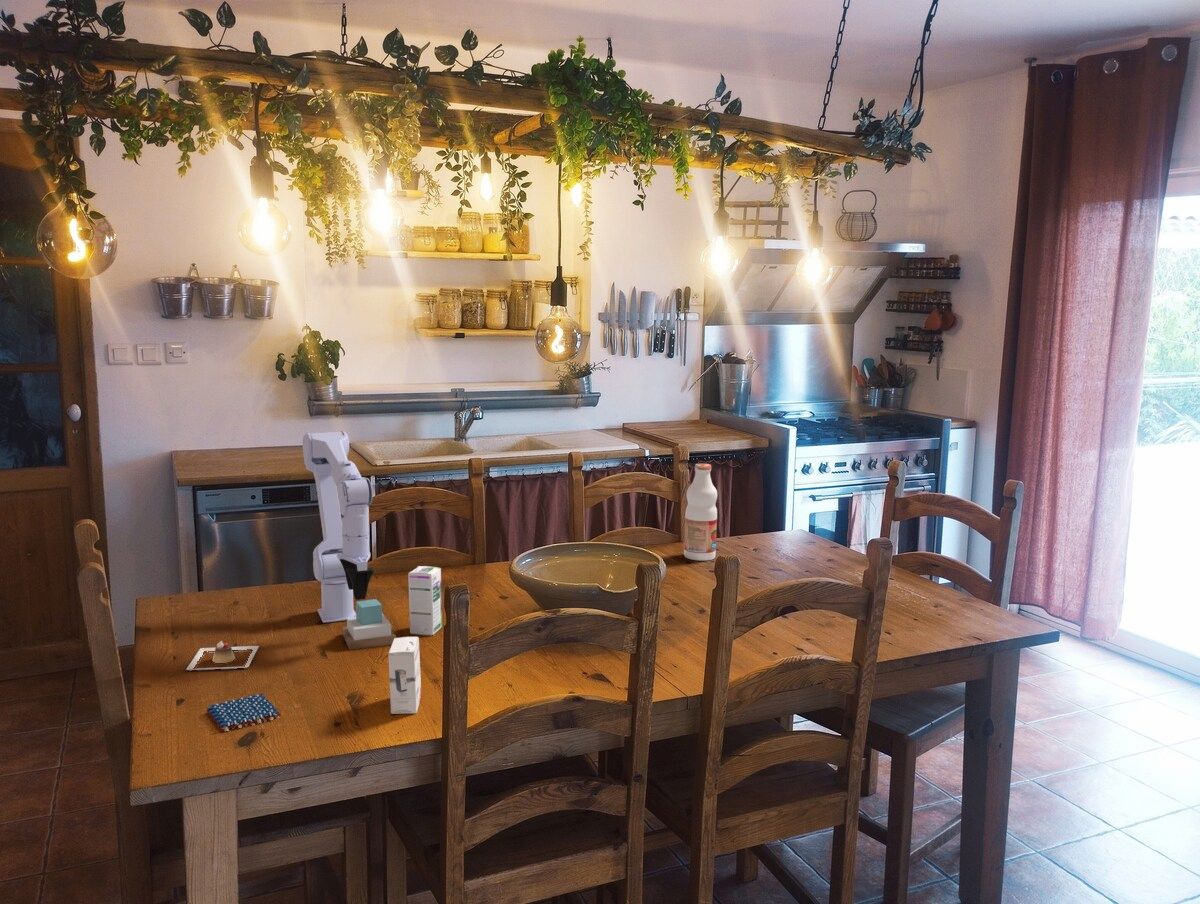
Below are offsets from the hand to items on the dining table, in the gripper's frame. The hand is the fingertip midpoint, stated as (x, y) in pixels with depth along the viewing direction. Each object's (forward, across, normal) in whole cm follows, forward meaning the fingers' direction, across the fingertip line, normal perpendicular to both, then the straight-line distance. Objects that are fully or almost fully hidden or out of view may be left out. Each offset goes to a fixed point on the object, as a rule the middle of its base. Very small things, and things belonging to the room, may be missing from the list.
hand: (356, 593), depth 211 cm
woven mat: (+11, +32, -26) cm, 43 cm away
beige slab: (+11, +1, +2) cm, 11 cm away
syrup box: (+10, 0, +15) cm, 18 cm away
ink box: (+10, +38, +2) cm, 40 cm away
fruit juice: (+11, -32, +107) cm, 112 cm away
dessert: (+11, +2, -28) cm, 30 cm away
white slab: (+8, +2, +2) cm, 9 cm away
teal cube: (+6, +1, +2) cm, 7 cm away
